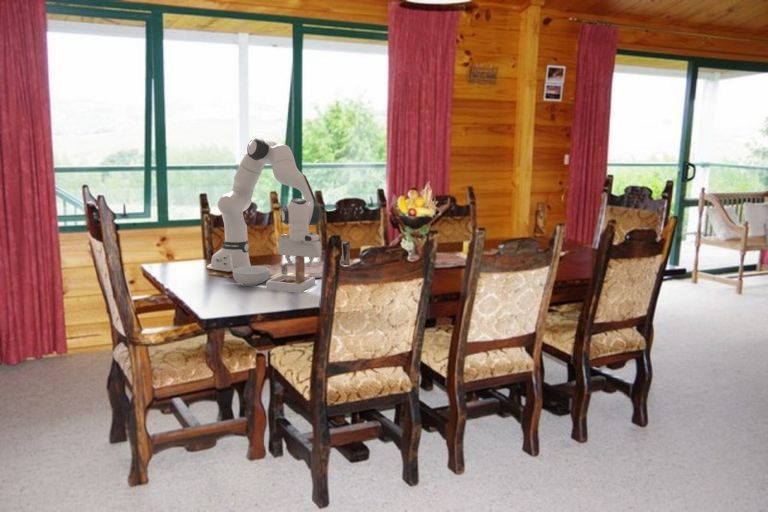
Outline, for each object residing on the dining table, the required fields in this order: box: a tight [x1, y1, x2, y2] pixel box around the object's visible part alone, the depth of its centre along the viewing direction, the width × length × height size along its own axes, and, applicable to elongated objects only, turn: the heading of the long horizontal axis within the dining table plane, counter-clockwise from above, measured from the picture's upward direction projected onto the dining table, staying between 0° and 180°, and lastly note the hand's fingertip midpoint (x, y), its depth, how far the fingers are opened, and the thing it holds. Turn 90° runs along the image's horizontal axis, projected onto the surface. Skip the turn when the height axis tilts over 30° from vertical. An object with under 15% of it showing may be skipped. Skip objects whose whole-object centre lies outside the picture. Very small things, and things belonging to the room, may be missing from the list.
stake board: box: [268, 262, 311, 279], centre depth 336 cm, size 16×13×7 cm
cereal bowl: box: [232, 265, 270, 287], centre depth 323 cm, size 17×17×7 cm
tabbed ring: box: [277, 256, 306, 284], centre depth 317 cm, size 12×9×14 cm
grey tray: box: [265, 274, 316, 294], centre depth 318 cm, size 17×15×4 cm
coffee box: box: [341, 240, 351, 265], centre depth 344 cm, size 9×6×16 cm
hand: (299, 265), depth 315 cm, fingers open, 8 cm apart
